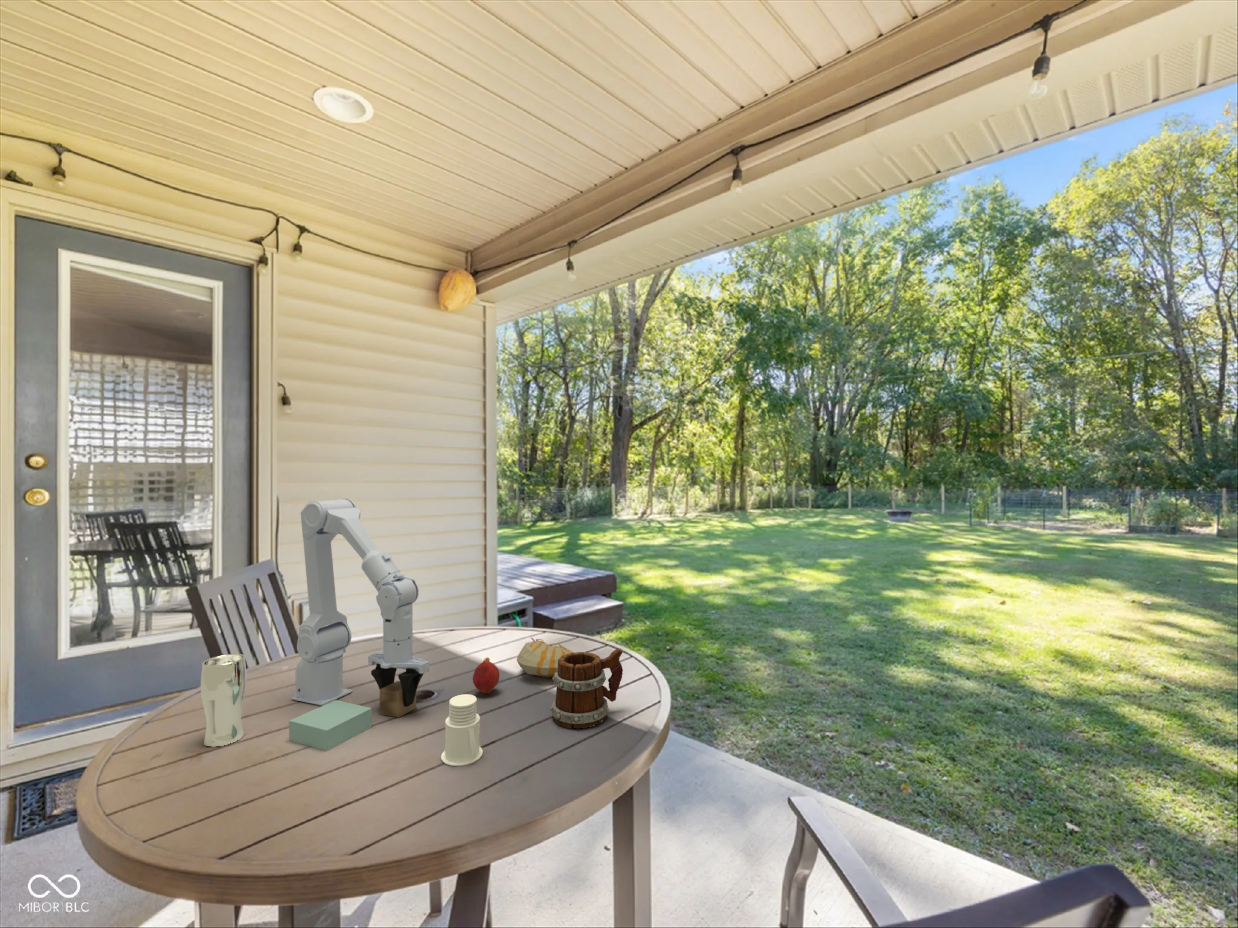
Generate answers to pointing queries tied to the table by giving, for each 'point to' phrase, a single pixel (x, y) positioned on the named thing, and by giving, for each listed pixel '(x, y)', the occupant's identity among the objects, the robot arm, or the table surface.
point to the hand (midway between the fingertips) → (398, 702)
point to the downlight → (462, 732)
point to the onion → (486, 676)
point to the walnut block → (394, 701)
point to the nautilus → (541, 658)
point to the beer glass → (223, 698)
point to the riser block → (330, 724)
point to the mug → (584, 688)
